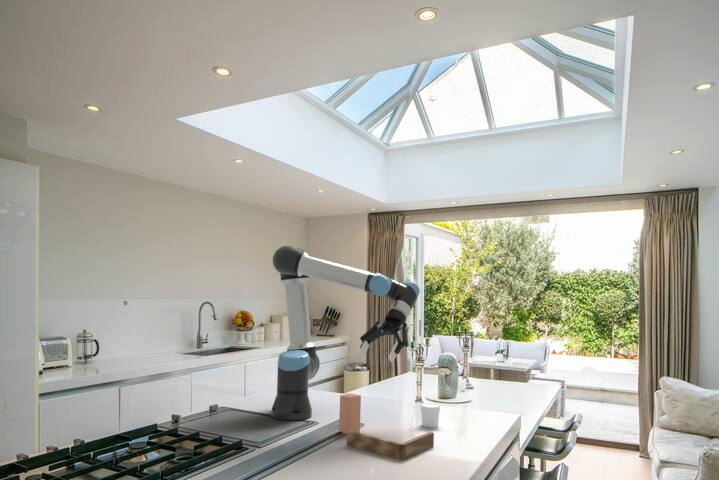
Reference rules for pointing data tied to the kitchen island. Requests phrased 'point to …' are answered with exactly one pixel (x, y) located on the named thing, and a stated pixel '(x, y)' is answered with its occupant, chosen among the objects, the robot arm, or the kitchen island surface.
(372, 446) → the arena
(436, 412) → the white cup
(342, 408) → the block
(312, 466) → the kitchen island surface
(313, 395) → the kitchen island surface
